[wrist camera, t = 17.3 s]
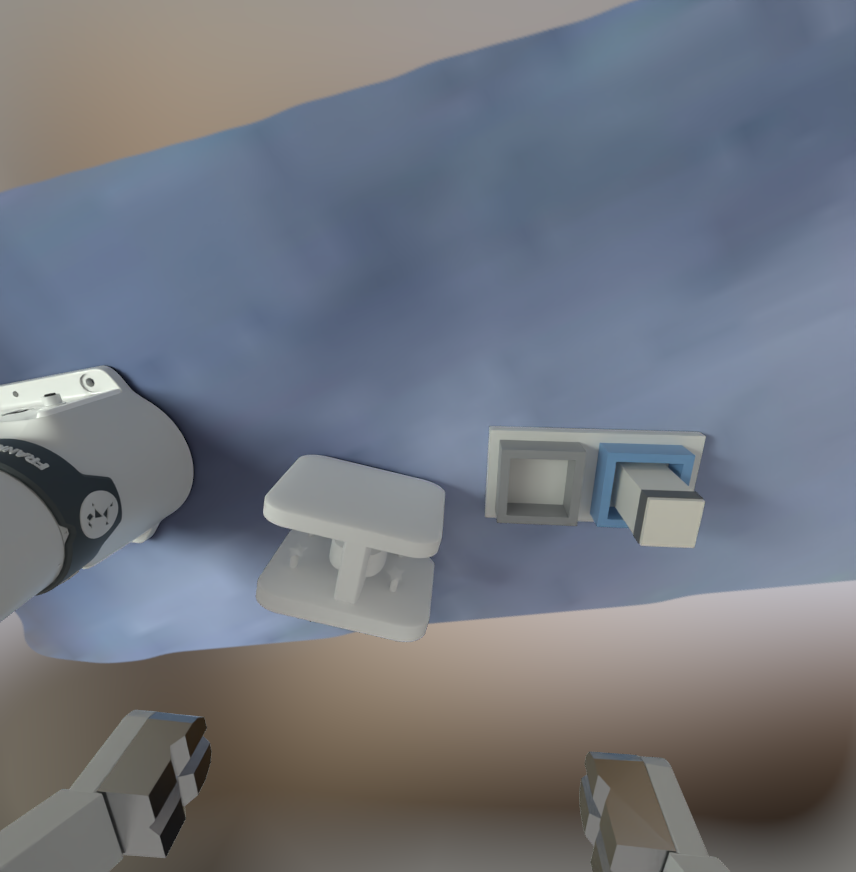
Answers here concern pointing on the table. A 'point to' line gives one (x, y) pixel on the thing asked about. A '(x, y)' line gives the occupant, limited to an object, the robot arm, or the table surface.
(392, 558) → the cable organizer
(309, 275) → the table surface
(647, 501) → the plug
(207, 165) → the table surface
